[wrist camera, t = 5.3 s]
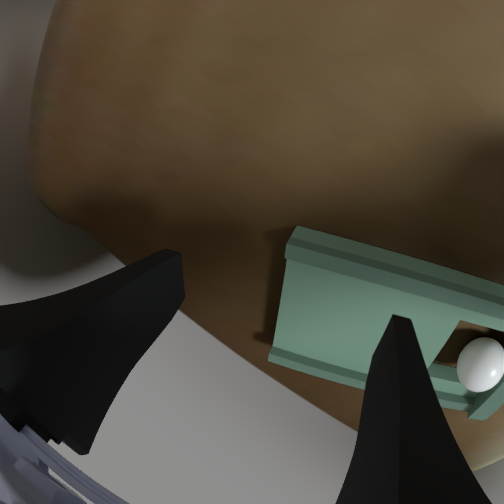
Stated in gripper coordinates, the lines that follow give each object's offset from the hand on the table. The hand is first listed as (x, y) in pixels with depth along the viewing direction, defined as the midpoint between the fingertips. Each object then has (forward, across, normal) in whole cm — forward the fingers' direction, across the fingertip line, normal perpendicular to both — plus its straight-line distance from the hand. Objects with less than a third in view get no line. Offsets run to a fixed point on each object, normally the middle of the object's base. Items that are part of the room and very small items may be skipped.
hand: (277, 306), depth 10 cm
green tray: (+10, -8, +8) cm, 15 cm away
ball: (+8, -14, +8) cm, 18 cm away
